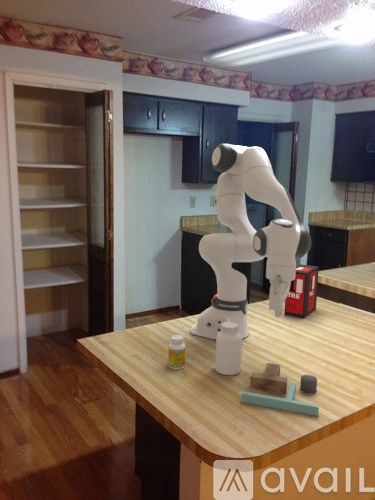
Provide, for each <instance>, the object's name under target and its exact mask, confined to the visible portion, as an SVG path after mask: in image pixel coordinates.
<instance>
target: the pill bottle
mask: <svg viewBox="0 0 375 500" xmlns="http://www.w3.org/2000/svg"><path fill="white" fill-rule="evenodd" d="M215 340H216V342H215V365H214V367H215V368H214V369H215V371H216V372H217V373H218V374H221V375H225V376H234V375H238V374H239V373H241V369H242V368H241V367H242V350H243V338H242V336H241V334H240V333H239V332H238V324H236V323H233V322H224V323H222V324H221V331H220V332H219V333H218V334H217V337H216V339H215Z"/></svg>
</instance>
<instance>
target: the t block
mask: <svg viewBox="0 0 375 500" xmlns="http://www.w3.org/2000/svg"><path fill="white" fill-rule="evenodd" d="M280 374H281V365H280V364H277V363H271V362H270V363H269V362H267V363H266V365H265V368H264V369H263V373H260V372H251V374H250V379H249V380H250V382H249V389H252V390H253V389H254V390H259V391H265V392H271V393H277V394H280V395H281V394H283V395H286V394H287V387H288V377H284V376H281V375H280Z"/></svg>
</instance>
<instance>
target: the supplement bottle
mask: <svg viewBox="0 0 375 500" xmlns="http://www.w3.org/2000/svg"><path fill="white" fill-rule="evenodd" d="M186 348H187V347H186V344H185V342H184V336H183V335H181V334H173V335H171V336H170V343H168V352H167V353H168V356H167V357H168V367H169V368H170V369H172V370H182V369H185V367H186Z"/></svg>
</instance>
